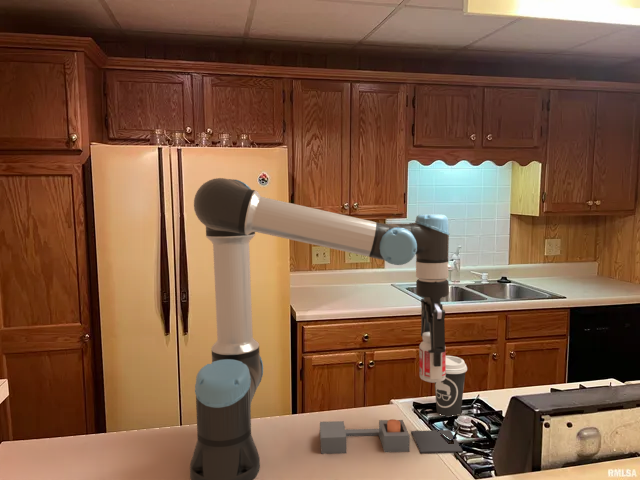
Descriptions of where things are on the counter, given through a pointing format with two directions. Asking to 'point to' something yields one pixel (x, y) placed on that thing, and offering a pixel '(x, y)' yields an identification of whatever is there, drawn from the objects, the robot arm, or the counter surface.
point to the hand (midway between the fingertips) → (432, 372)
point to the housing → (336, 433)
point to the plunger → (393, 425)
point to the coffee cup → (451, 387)
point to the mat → (435, 442)
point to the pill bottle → (425, 360)
